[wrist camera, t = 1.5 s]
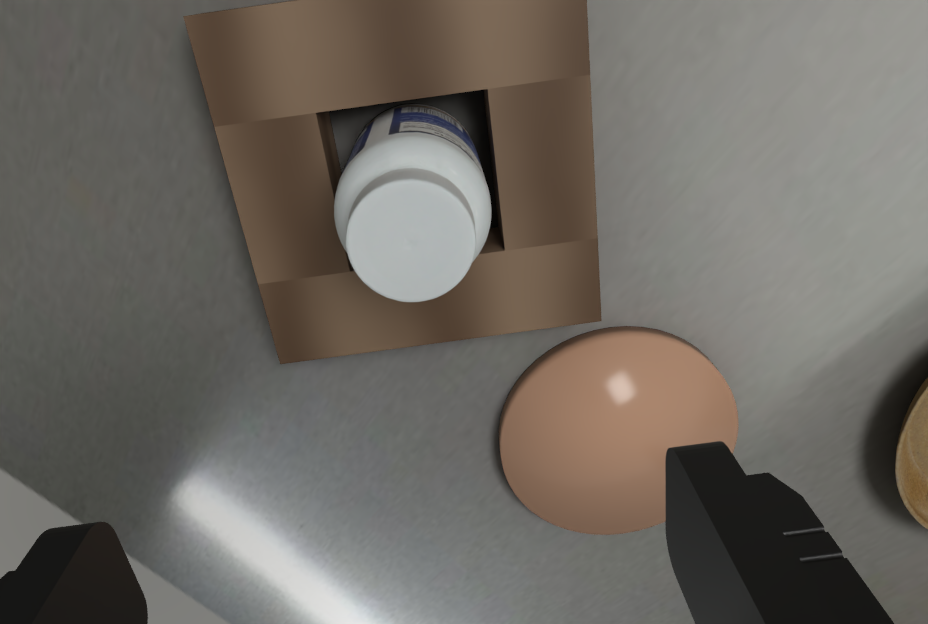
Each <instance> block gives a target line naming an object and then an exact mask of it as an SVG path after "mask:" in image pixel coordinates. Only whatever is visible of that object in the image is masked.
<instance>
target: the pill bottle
mask: <svg viewBox="0 0 928 624" xmlns="http://www.w3.org/2000/svg"><path fill="white" fill-rule="evenodd" d="M334 219H335V225H336V230H337V233H338V236H339V239H340V241H341V243H342V245H343V247H344V249H345V251H346V252H347V254H348V257H349V260H350V263H351V265H352V267H353V269H354V271H355V272H356V274H357V275H358V276H359V278H360V279H361V280H362V281H363V282H364V283H365V284H366V285H367V286H368V287H370V288H371V289H372V290H374V291H375V292H376V293H378V294H380V295H382V296H384V297H386V298H390V299H393V300H397V301H402V302H421V301H427V300H431V299H434V298H437V297H439V296H441V295H443V294H445V293H447V292H448V291H450V290H451V289H453V288H454V287H455V286H456V285H457V284H458V283H459V282H460V281H461V280H462V279H463V278H464V276H465V275H466V273H467V272H468V270H469V268H470V266H471V264H472V262H473V261H474V260H475V259H476V257H477V256H478V255H479V253H480V251H481V250H482V248H483V246H484V244H485V242H486V239H487V236H488V233H489V229H490V224H491V199H490V193H489V189H488V186H487V183H486V180H485V176H484V173H483V170H482V167H481V163H480V161H479V157H478V154H477V151H476V148H475V146H474V143H473V141H472V139H471V137H470V136H469V134H468V132H467V131H466V129H465V128H464V127H463V126H462V125H461V124H460V122H458V121H457V120H456V119H455V118H454V117H453V116H451V115H450V114H448V113H447V112H445V111H443V110H440V109H438V108H436V107H433V106H429V105H424V104H404V105H399V106H396V107H393V108H391V109H389V110H386V111H385V112H383V113H381V114H380V115H378V116H377V117H375V118H374V119H373V120H372V121H371V122H370V123H369V124H368V125H367V126H366V127H365V128H364V130H363V131H362V133H361V134H360V136H359V137H358V139H357V140H356V143H355V145H354V147H353V150H352V152H351V155H350V157H349V160H348V162H347V164H346V166H345V169H344V170H343V172H342V175H341V177H340V179H339V183H338V187H337V190H336V194H335V201H334Z"/></svg>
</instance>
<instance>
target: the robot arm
mask: <svg viewBox="0 0 928 624" xmlns="http://www.w3.org/2000/svg"><path fill="white" fill-rule="evenodd" d="M665 472H666V539H667V546H668V551H669V556H670V560H671V563H672V567H673V570H674V573H675V576H676V578H677V581H678V583H679V585H680V588H681V590H682V593H683V595H684V597H685V600H686V602H687V605H688V607H689V609H690V612H691V614H692V617H693V619H694V621H695V624H894V623H893V621H892V620H891V618H890V617H889V616H888V614H887V613H886V611H885V610H884V609H883V607H882V606H881V605H880V603H879V602H878V600H877V599H876V598H875V596H874V595H873V594H872V592H871V591H870V589H869V588H868V587H867V585H866V584H865V582H864V581H863V580H862V578H861V577H860V576H859V574H858V573H857V571H856V570H855V569H854V567H853V566H852V564H851V563H850V562H849V560H848V559H847V558H844V557H843V555H842V551H841V549H840V548H839V547H838V545H837V544H836V542H835V541H834V540H833V538H832V537H831V535H830V534H829V533H828V532H825V531H824V526H823V524H822V523H821V522H820V520H819V519H818V517H817V516H816V515H815V513H814V512H813V511H812V509H811V508H810V506H809V505H808V504H807V502H806V501H805V500H804V498H803V497H802V496H801V495H800V494H798V493H797V492H796V491H794V490H793V489H791V488H790V487H788V486H787V485H786V484H784V483H783V482H781V481H780V480H778V479H777V478H775V477H774V476H773V475H771V474H770V473H762V474H754V475H747V476H746V474H745V473H744V471H743V470H742V468H741V467H740V465H739V463H738V462H737V460H736V459H735V457H734V456H733V454H732V453H731V451H730V449H729V448H728V447H727V445H726V444H725V443H724V442H722V441H716V442H709V443H701V444H694V445H686V446H679V447H671V448H668V450H667V452H666V461H665ZM147 616H148V614H147V604H146V600H145V597H144V594H143V592H142V590H141V587H140V585H139V583H138V581H137V579H136V576H135V574H134V572H133V570H132V568H131V565H130V563H129V561H128V559H127V557H126V554H125V552H124V550H123V548H122V546H121V543H120V541H119V539H118V537H117V535H116V533H115V531H114V529H113V528H112V527H111V525H109V524H108V523H106V522H96V523H88V524H81V525H73V526H66V527H58V528H52V529H48V530H46V531H45V532H43V533H42V534H41V535H40V536H39V538H38V539H37V540H36V542H35V543H34V545H33V546H32V548H31V549H30V550H29V552H28V553H27V555H26V556H25V558H24V559H23V560H22V562H21V564H20V565H19V566H18V568H17V569H16V570H15V571H9V572H8V573H6V574H5V575H4V576H3V577H2V578H1V579H0V624H147V619H148V617H147Z"/></svg>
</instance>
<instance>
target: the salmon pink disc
mask: <svg viewBox="0 0 928 624" xmlns="http://www.w3.org/2000/svg"><path fill="white" fill-rule="evenodd" d="M737 434H738V413H737V408H736V402H735V400H734V397H733V394H732V392H731V390H730V388H729V386H728V384H727V383H726V381H725V379H724V378H723V376H722V375H721V374H720V372H719V371H718V370H717V368H716V367H715V366H714V365H713V363H712V362H711V361H710V360H709V358H708V357H707V356H706V355H705V354H703V353H702V352H701V351H700V350H699V349H698V348H697V347H695V346H694V345H692V344H690V343H689V342H687V341H686V340H684V339H682V338H680V337H677V336H675V335H673V334H670V333H667V332H664V331H661V330H657V329H651V328H645V327H632V326H623V327H610V328H604V329H599V330H594V331H591V332H588V333H584V334H581V335H578V336H576V337H573V338H571V339H569V340H567V341H564V342H562V343H561V344H559V345H557V346H556V347H554V348H552V349H550V350H549V351H548V352H546V353H545V354H544V355H542V356H541V357H540V358H538V359H537V360H536V361H535V362H534V363H533V364H532V365H531V366H530V367H529V368H528V369H526V370H525V372H524V373H523V374H522V375H521V377H520V378H519V379H518V380H517V382H516V383H515V385H514V386H513V388H512V390H511V391H510V393H509V395H508V397H507V400H506V402H505V404H504V407H503V410H502V414H501V418H500V424H499V447H500V454H501V460H502V465H503V469H504V473H505V475H506V478H507V480H508V483H509V485H510V486H511V488H512V490H513V491H514V493H515V494H516V496H517V497H518V498H519V499H520V501H521V502H522V503H523V504H524V505H525V506H526V507H527V508H528V509H530V510H531V511H532V512H533V513H535V514H536V515H538V516H539V517H540V518H542V519H544V520H546V521H548V522H550V523H552V524H554V525H556V526H559V527H561V528H564V529H567V530H571V531H575V532H580V533H587V534H601V535H610V534H623V533H628V532H634V531H639V530H642V529H646V528H649V527H652V526H655V525H657V524H660V523H663V522H665V521H666V472H665V461H666V452H667V450H668V448H671V447H679V446H686V445H694V444H701V443H709V442H716V441H722V442H724V443H725V444H726V445H727V447H728V448H729V449H730V451H731V453H732V454H733V451H734V448H735V444H736V441H737Z"/></svg>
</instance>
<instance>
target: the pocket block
mask: <svg viewBox="0 0 928 624" xmlns="http://www.w3.org/2000/svg"><path fill="white" fill-rule="evenodd" d="M183 17H184V20H185V24H186V28H187V31H188V35H189V38H190V42H191V45H192V49H193V53H194V56H195V60H196V63H197V67H198V71H199V74H200V78H201V81H202V85H203V89H204V92H205V96H206V99H207V103H208V106H209V110H210V114H211V117H212V121H213V124H214V128H215V132H216V135H217V139H218V142H219V146H220V150H221V153H222V157H223V160H224V164H225V167H226V171H227V175H228V178H229V182H230V185H231V189H232V193H233V196H234V200H235V203H236V207H237V211H238V214H239V218H240V221H241V225H242V228H243V232H244V236H245V239H246V243H247V246H248V250H249V254H250V257H251V261H252V264H253V268H254V272H255V275H256V279H257V282H258V286H259V289H260V293H261V297H262V300H263V304H264V307H265V311H266V315H267V318H268V322H269V325H270V329H271V333H272V336H273V340H274V343H275V347H276V350H277V354H278V358H279V361H280V364H285V363H292V362H300V361H307V360H315V359H322V358H330V357H337V356H345V355H352V354H359V353H367V352H374V351H382V350H389V349H397V348H404V347H412V346H419V345H426V344H434V343H441V342H449V341H456V340H464V339H471V338H478V337H486V336H493V335H501V334H508V333H516V332H523V331H531V330H538V329H545V328H553V327H560V326H568V325H575V324H583V323H590V322H597V321H601V302H600V280H599V258H598V236H597V214H596V192H595V171H594V149H593V127H592V105H591V83H590V61H589V39H588V18H587V0H294V1H287V2H279V3H272V4H265V5H258V6H251V7H244V8H237V9H230V10H223V11H216V12H208V13H202V14H196V15H189V16H183ZM477 90H483V93H484V102H485V111H486V120H487V129H488V138H489V147H490V156H491V165H492V174H493V184H494V193H495V202H496V211H497V220H498V227H496V228H490V229H489V233H488V236H487V239H486V242H485V244H484V246H483V248H482V250H481V251H480V253H479V255H478V256H477V257H476V259H475V260H474V261H473V262H472V264H471V266H470V268H469V270H468V272H467V273H466V275H465V276H464V278H463V279H462V280H461V281H460V282H459V283H458V284H457V285H456V286H455V287H454V288H453V289H451V290H450V291H448V292H447V293H445V294H443V295H441V296H439V297H437V298H434V299H431V300H427V301H421V302H402V301H397V300H393V299H390V298H386V297H384V296H382V295H380V294H378V293H376V292H375V291H374V290H372V289H371V288H370V287H368V286H367V285H366V284H365V283H364V282H363V281H362V280H361V279H360V278H359V276H358V275H357V274H356V272H355V271H354V269H353V267H352V265H351V263H350V260H349V257H348V254H347V252H346V251H345V249H344V247H343V245H342V243H341V241H340V239H339V236H338V233H337V230H336V225H335V219H334V201H335V194H336V190H337V187H338V183H339V179H340V177H341V175H342V173H341V169H340V164H339V159H338V154H337V149H336V144H335V140H334V135H333V130H332V125H331V120H330V115H329V111H333V110H340V109H347V108H354V107H361V106H369V105H376V104H383V103H390V102H397V101H405V100H412V99H419V98H426V97H433V96H441V95H448V94H455V93H462V92H469V91H477Z"/></svg>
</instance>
